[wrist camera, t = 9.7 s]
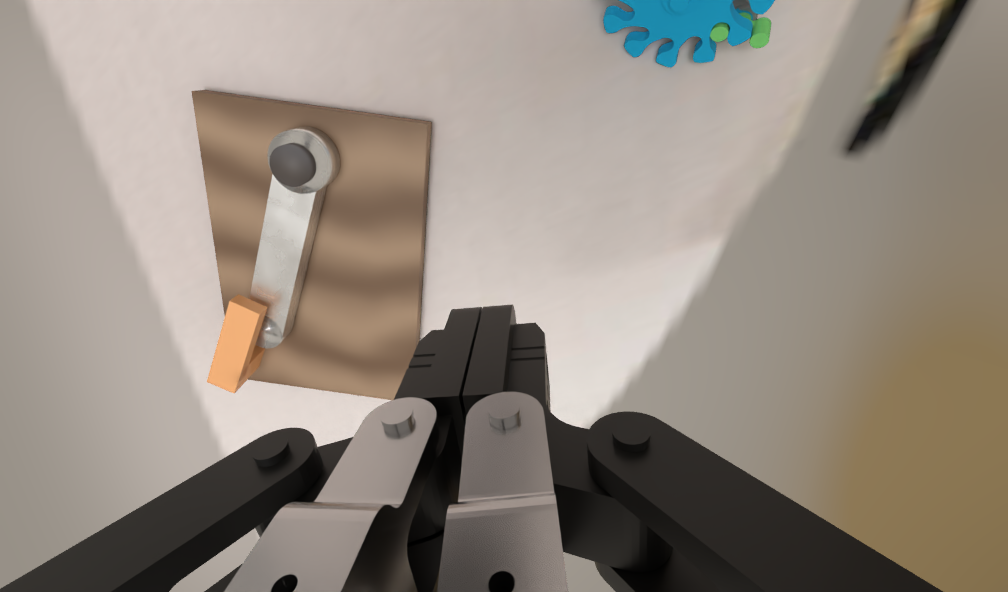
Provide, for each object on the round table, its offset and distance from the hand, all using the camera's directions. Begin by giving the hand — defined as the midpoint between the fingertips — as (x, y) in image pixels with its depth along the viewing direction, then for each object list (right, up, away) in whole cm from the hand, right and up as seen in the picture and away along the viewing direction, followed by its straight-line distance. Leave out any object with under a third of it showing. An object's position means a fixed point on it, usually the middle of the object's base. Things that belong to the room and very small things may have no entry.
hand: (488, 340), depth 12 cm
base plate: (-15, +4, +29) cm, 33 cm away
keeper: (-21, -1, +31) cm, 37 cm away
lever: (-17, +5, +27) cm, 32 cm away
